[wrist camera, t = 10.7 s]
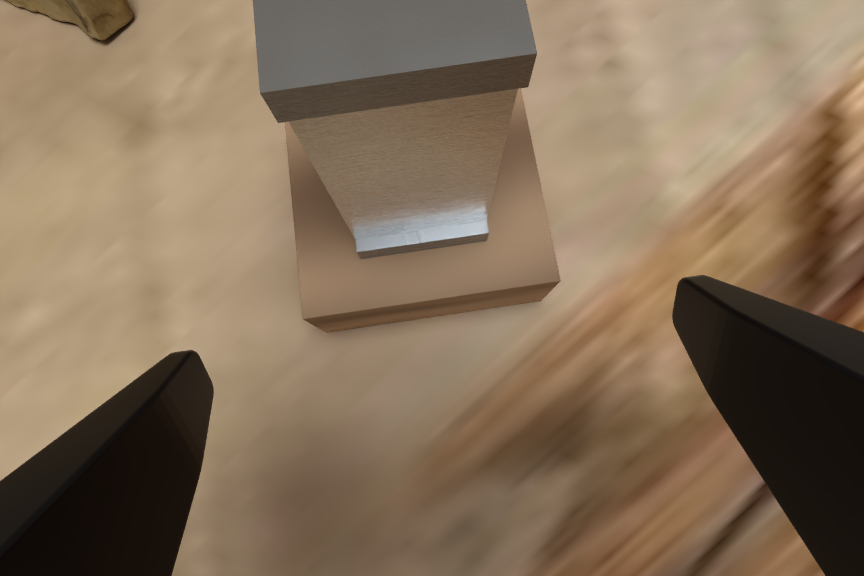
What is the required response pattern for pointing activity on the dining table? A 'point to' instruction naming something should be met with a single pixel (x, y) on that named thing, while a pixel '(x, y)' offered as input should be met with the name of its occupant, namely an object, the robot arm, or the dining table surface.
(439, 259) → the stand
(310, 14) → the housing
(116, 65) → the dining table surface
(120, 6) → the rock
